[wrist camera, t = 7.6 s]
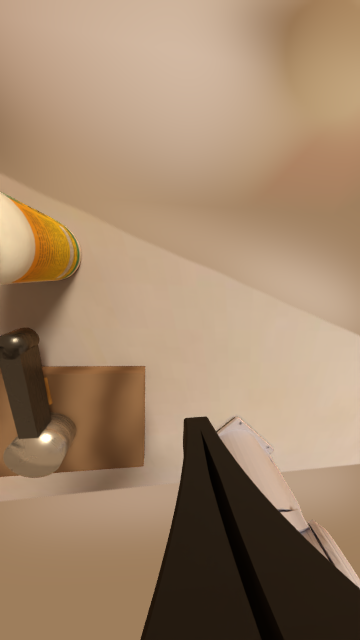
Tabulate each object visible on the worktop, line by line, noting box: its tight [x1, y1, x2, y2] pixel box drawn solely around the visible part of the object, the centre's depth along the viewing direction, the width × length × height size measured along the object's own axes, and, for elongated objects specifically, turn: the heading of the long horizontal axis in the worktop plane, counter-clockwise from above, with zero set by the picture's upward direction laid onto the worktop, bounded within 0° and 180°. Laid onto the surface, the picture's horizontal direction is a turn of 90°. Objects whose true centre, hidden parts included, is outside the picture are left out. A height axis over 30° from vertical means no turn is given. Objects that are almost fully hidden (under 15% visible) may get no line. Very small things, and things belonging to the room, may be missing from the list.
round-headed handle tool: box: [0, 328, 77, 478], centre depth 16 cm, size 15×5×3 cm, turn 177°
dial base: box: [0, 366, 145, 477], centre depth 20 cm, size 20×14×2 cm
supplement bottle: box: [0, 192, 81, 285], centre depth 11 cm, size 5×5×10 cm
